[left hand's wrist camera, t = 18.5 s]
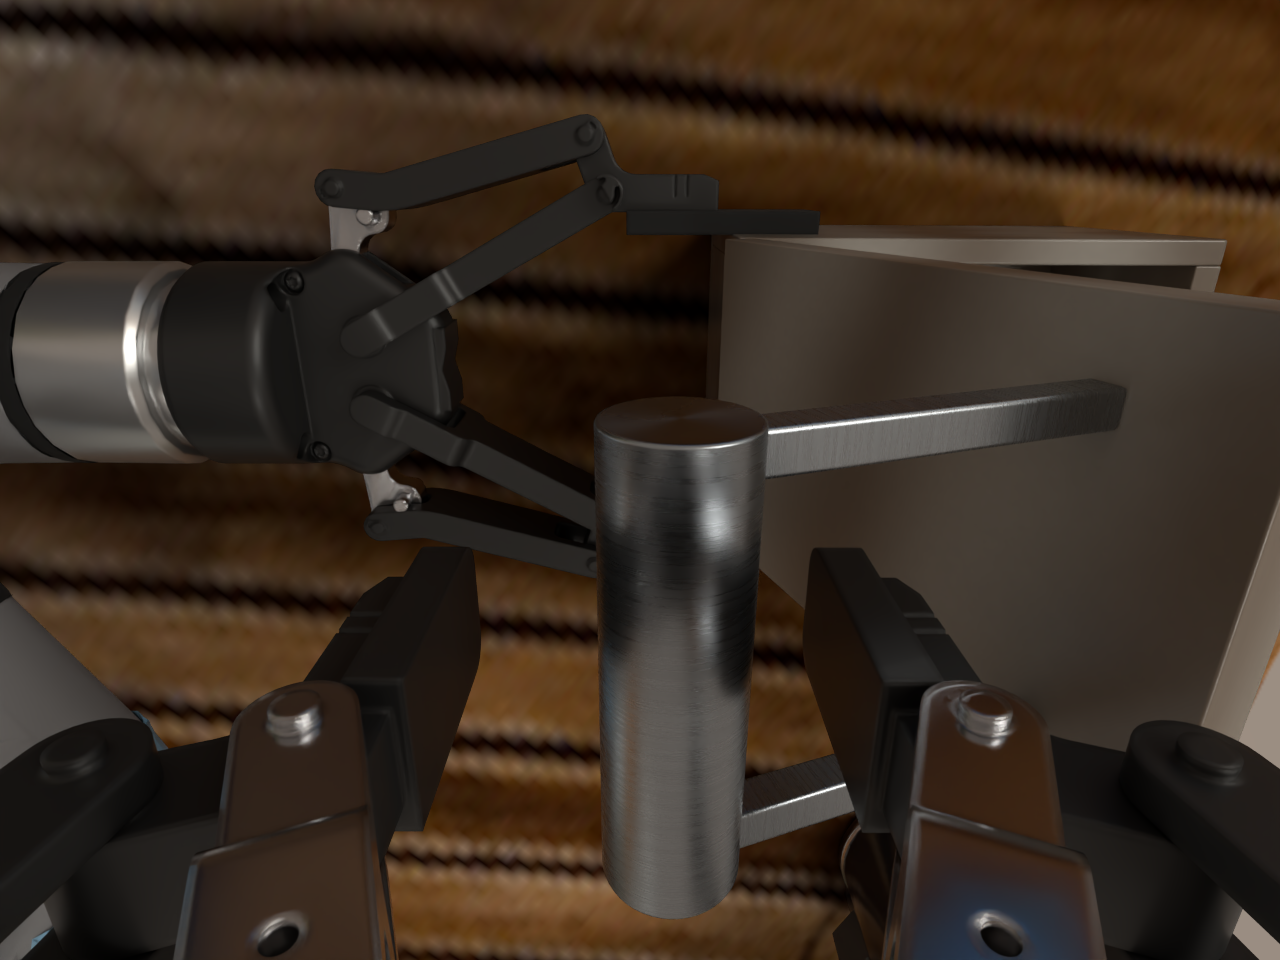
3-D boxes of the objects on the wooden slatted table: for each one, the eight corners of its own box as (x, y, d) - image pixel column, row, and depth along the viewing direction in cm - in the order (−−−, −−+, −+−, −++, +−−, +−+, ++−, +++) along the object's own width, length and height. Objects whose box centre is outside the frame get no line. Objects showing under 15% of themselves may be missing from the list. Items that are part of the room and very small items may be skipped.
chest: (1067, 226, 32) (1229, 239, 23) (1024, 437, 36) (1151, 519, 27) (711, 224, 32) (738, 237, 23) (704, 436, 36) (724, 517, 27)
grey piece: (1399, 313, 9) (695, 373, 6) (1184, 890, 12) (671, 1117, 9) (757, 238, 23) (446, 244, 20) (740, 521, 26) (474, 564, 23)
